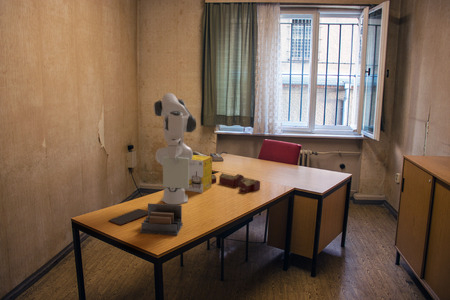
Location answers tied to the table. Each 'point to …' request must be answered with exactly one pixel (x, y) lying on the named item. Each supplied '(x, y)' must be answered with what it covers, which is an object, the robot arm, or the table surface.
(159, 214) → the block
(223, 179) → the toy houses
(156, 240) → the table surface
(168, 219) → the offcut front
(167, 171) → the white thin panel
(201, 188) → the packaging box
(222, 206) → the table surface
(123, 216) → the smartphone
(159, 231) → the rack
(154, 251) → the table surface
